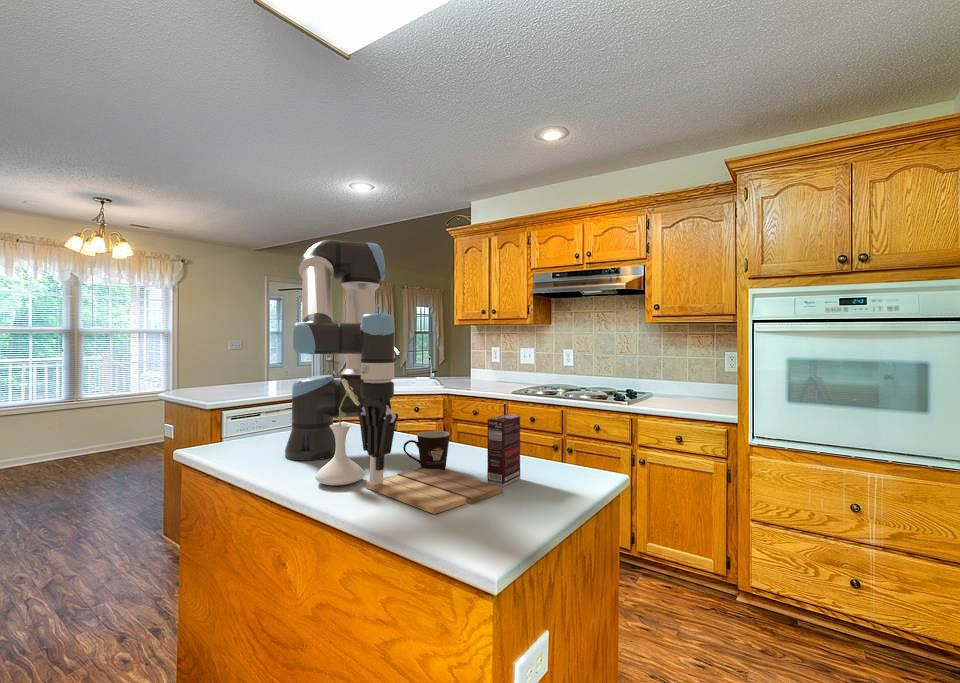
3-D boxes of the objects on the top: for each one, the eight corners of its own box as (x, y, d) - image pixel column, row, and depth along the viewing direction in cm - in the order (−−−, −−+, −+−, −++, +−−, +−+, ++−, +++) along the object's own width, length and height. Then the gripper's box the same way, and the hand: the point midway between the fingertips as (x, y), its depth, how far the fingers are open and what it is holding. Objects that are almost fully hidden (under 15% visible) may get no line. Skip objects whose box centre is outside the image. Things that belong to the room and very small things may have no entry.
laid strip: (395, 478, 117) (395, 473, 117) (427, 470, 125) (427, 465, 125) (471, 504, 99) (471, 498, 99) (502, 492, 107) (502, 487, 107)
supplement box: (504, 475, 121) (505, 413, 120) (520, 479, 118) (521, 415, 118) (485, 484, 113) (486, 418, 113) (502, 487, 111) (503, 420, 111)
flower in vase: (359, 489, 108) (360, 381, 108) (308, 490, 108) (309, 381, 107) (369, 473, 121) (370, 376, 121) (324, 473, 121) (325, 376, 120)
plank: (365, 487, 109) (365, 481, 109) (396, 479, 116) (396, 474, 116) (434, 514, 93) (434, 507, 93) (466, 503, 100) (466, 497, 100)
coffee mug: (451, 467, 129) (452, 431, 129) (446, 477, 120) (446, 438, 120) (410, 466, 130) (410, 430, 130) (402, 475, 121) (402, 436, 121)
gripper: (347, 380, 109) (346, 481, 110) (380, 384, 101) (379, 493, 101) (374, 378, 115) (373, 474, 115) (408, 381, 106) (407, 486, 106)
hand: (376, 483), depth 108 cm, fingers closed
